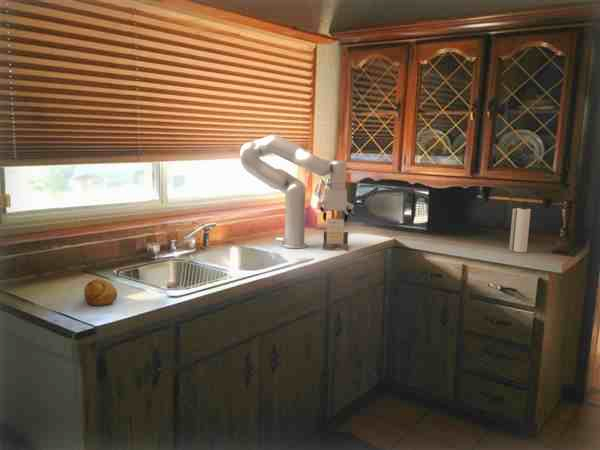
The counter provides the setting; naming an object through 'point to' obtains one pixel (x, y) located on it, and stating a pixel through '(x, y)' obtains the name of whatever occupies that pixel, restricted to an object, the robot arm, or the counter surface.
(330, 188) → the robot arm
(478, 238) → the counter surface
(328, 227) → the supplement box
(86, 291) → the bread roll
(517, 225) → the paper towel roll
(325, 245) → the cleat holder
